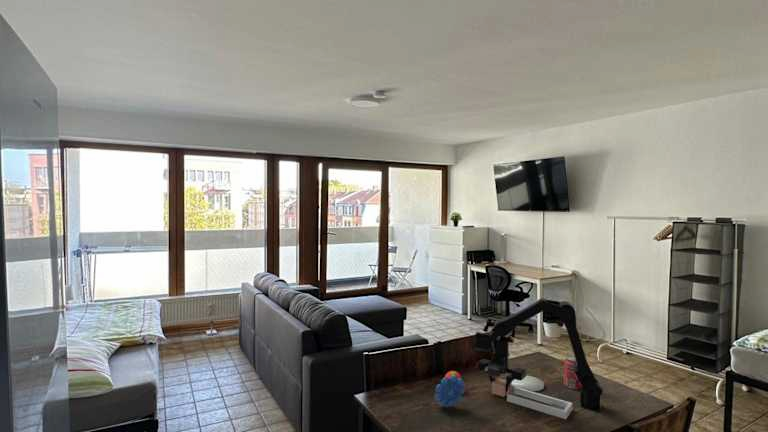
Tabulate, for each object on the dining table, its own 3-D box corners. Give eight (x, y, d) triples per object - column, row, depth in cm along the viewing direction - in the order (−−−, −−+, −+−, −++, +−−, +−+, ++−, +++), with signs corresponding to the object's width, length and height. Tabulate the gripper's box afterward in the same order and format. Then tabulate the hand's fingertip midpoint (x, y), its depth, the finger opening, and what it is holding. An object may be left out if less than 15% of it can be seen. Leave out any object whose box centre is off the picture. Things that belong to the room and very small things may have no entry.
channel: (572, 409, 154) (572, 403, 154) (565, 419, 147) (565, 412, 147) (515, 393, 167) (515, 386, 167) (506, 401, 160) (507, 394, 160)
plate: (548, 383, 177) (548, 380, 177) (537, 394, 166) (537, 392, 166) (516, 374, 186) (516, 372, 186) (504, 384, 175) (504, 382, 175)
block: (508, 392, 167) (508, 381, 167) (503, 397, 163) (504, 385, 163) (496, 389, 170) (496, 378, 170) (491, 393, 166) (491, 382, 166)
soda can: (578, 383, 177) (579, 355, 177) (584, 390, 170) (585, 361, 170) (561, 382, 178) (561, 354, 178) (566, 389, 171) (567, 361, 171)
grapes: (461, 401, 160) (462, 370, 160) (466, 409, 153) (467, 377, 153) (431, 402, 159) (432, 370, 158) (435, 410, 152) (436, 378, 152)
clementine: (461, 393, 166) (461, 376, 166) (443, 392, 167) (444, 374, 167) (461, 385, 174) (462, 368, 174) (445, 383, 175) (445, 367, 175)
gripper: (470, 351, 166) (469, 390, 166) (516, 363, 154) (515, 404, 154) (482, 344, 174) (481, 381, 175) (527, 354, 163) (526, 394, 163)
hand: (500, 390), depth 167 cm, fingers closed on block, 5 cm apart
